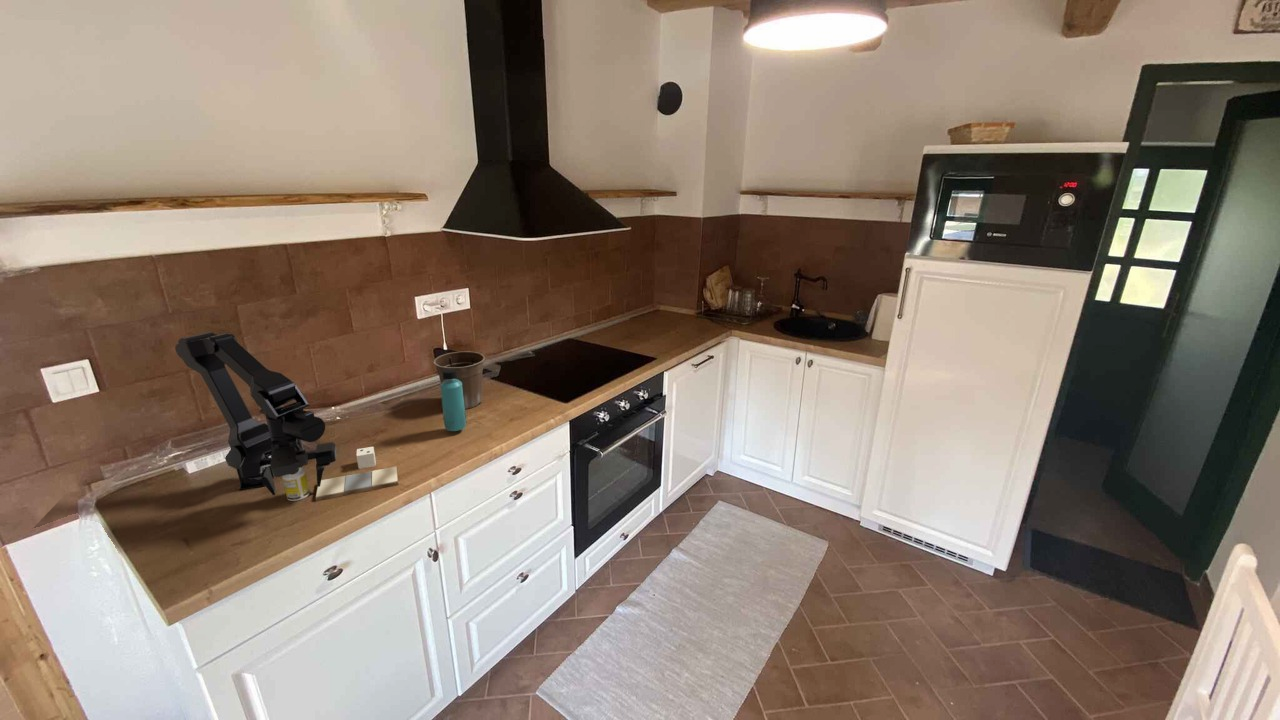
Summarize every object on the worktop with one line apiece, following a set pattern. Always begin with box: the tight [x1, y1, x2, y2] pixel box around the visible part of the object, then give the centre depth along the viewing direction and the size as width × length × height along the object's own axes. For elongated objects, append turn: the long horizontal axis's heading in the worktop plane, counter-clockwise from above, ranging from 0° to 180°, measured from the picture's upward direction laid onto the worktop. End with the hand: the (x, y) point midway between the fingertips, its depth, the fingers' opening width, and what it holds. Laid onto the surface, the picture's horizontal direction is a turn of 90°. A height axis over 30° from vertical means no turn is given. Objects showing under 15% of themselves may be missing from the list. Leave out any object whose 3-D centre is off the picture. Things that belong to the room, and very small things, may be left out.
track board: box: [315, 466, 399, 502], centre depth 132 cm, size 18×8×1 cm, turn 116°
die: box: [356, 446, 377, 470], centre depth 140 cm, size 4×4×4 cm
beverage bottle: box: [439, 369, 467, 432], centre depth 157 cm, size 6×7×20 cm
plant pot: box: [433, 350, 486, 410], centre depth 177 cm, size 16×16×16 cm
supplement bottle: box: [281, 466, 311, 502], centre depth 125 cm, size 5×5×8 cm
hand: (297, 490), depth 126 cm, fingers open, 9 cm apart
